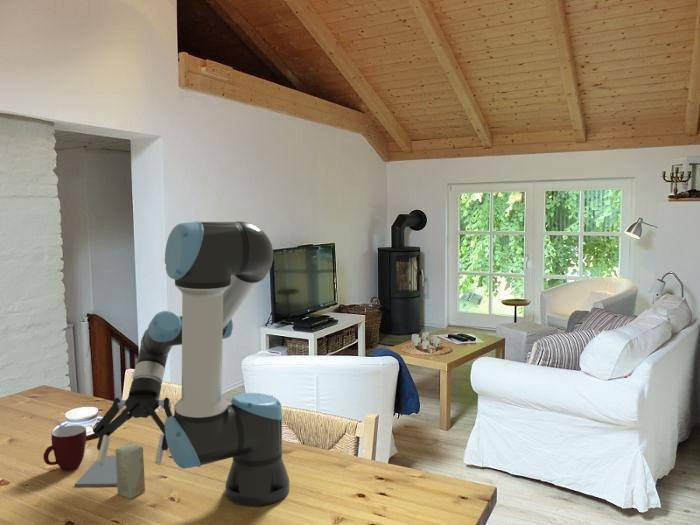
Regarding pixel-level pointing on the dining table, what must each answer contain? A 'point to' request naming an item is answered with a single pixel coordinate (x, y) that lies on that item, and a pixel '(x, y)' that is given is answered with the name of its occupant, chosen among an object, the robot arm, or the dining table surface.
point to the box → (130, 470)
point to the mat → (100, 474)
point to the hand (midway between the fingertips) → (129, 463)
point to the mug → (67, 447)
